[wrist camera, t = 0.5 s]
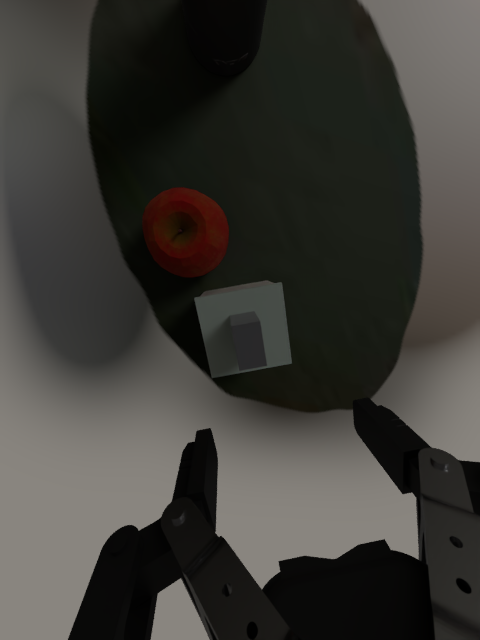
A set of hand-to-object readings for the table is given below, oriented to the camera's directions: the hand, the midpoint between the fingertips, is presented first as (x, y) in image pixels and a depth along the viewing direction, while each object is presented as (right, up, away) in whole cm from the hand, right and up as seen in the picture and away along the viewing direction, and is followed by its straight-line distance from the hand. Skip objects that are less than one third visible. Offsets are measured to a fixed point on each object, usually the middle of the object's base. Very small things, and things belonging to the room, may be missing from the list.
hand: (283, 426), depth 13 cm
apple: (-9, +18, +21) cm, 30 cm away
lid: (-2, +5, +18) cm, 19 cm away
